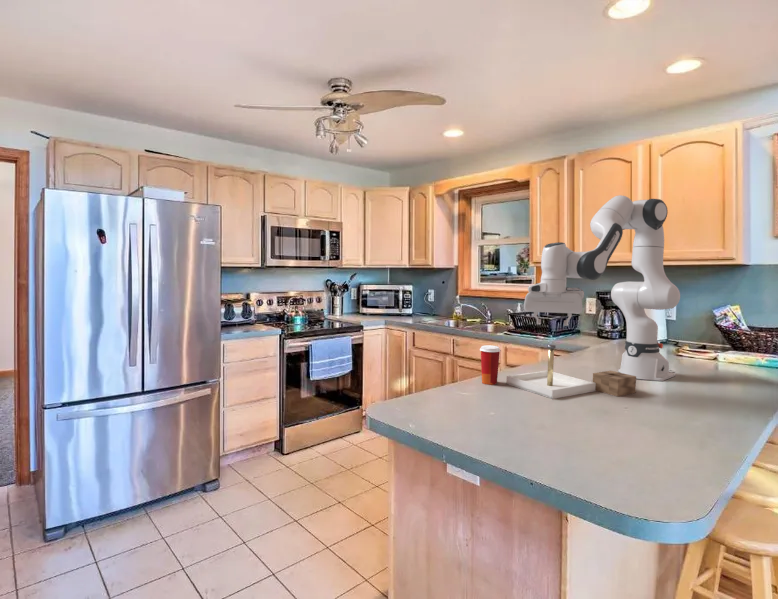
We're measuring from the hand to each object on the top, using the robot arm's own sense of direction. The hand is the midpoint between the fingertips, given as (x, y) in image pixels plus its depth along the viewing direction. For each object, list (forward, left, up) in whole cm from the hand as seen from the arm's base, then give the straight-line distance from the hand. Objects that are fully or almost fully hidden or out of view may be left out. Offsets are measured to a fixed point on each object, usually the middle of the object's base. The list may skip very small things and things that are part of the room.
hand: (552, 324), depth 166 cm
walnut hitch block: (-17, +14, -23) cm, 32 cm away
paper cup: (+16, -15, -24) cm, 32 cm away
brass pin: (0, 0, -23) cm, 23 cm away
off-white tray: (0, 0, -23) cm, 23 cm away
